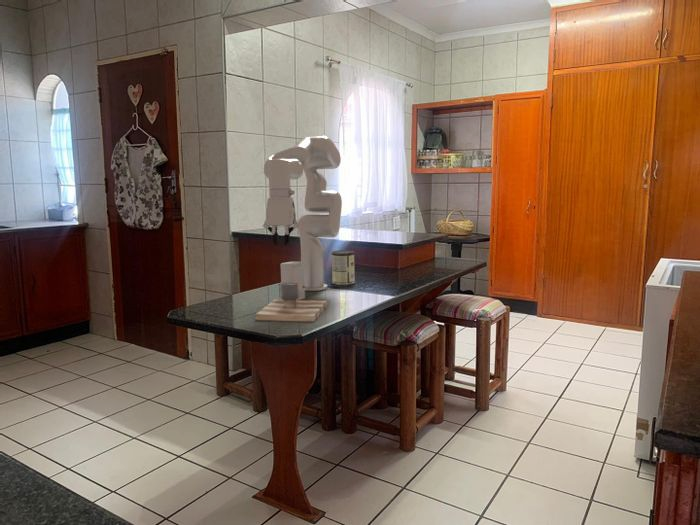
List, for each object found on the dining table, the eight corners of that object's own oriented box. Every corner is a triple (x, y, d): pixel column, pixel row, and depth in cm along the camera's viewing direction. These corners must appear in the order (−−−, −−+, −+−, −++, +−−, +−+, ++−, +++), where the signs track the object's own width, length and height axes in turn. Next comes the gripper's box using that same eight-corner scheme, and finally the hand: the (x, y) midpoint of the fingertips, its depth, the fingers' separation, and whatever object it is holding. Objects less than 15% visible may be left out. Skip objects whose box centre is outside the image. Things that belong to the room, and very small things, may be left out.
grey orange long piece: (296, 300, 187) (295, 285, 187) (279, 299, 188) (278, 285, 187) (305, 291, 201) (304, 278, 200) (289, 291, 202) (289, 278, 201)
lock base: (274, 304, 204) (274, 291, 203) (326, 306, 201) (326, 292, 200) (255, 320, 182) (255, 305, 181) (314, 321, 179) (313, 306, 178)
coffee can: (333, 280, 250) (333, 250, 248) (355, 280, 249) (355, 250, 247) (330, 284, 240) (330, 253, 238) (353, 284, 239) (353, 253, 237)
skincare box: (293, 302, 207) (292, 264, 204) (280, 301, 210) (279, 263, 207) (305, 298, 214) (304, 261, 212) (293, 296, 217) (292, 260, 214)
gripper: (304, 193, 196) (306, 244, 198) (261, 193, 198) (262, 243, 201) (299, 194, 188) (301, 246, 191) (254, 194, 191) (256, 246, 193)
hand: (281, 244), depth 196 cm, fingers open, 3 cm apart
